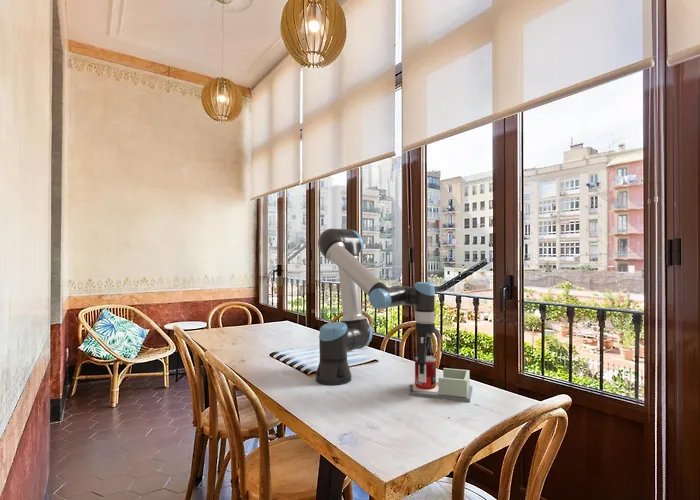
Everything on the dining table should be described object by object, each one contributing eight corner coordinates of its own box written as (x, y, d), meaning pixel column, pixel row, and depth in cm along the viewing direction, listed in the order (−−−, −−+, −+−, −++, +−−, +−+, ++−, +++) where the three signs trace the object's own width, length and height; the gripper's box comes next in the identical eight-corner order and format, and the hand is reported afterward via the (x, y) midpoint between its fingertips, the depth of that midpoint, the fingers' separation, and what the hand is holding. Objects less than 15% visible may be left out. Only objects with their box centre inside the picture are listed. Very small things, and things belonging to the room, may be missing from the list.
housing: (438, 394, 152) (438, 377, 152) (443, 383, 165) (443, 368, 165) (466, 397, 148) (466, 380, 148) (469, 385, 162) (469, 370, 162)
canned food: (436, 390, 156) (435, 361, 156) (414, 388, 158) (414, 360, 158) (435, 384, 164) (435, 356, 164) (415, 382, 165) (415, 355, 165)
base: (408, 395, 155) (408, 385, 155) (416, 383, 169) (416, 374, 169) (469, 402, 148) (469, 391, 148) (472, 389, 162) (472, 379, 162)
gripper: (429, 328, 148) (430, 387, 148) (439, 317, 171) (439, 369, 171) (408, 326, 150) (409, 385, 150) (421, 316, 174) (421, 367, 174)
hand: (425, 376), depth 161 cm, fingers open, 13 cm apart
